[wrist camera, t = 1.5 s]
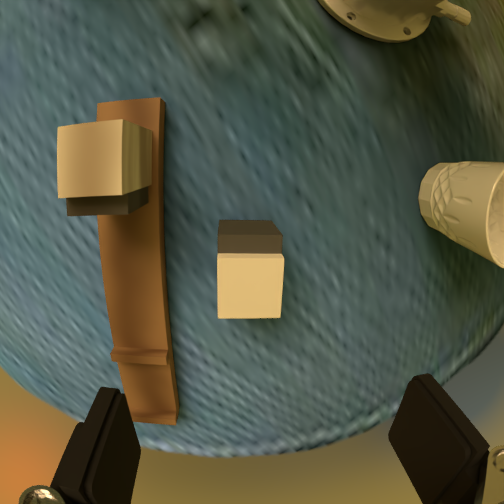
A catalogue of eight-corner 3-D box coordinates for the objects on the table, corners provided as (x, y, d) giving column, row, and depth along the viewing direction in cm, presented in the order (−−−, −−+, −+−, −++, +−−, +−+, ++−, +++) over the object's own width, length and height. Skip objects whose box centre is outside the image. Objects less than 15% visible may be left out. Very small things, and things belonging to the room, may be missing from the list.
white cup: (474, 224, 27) (542, 249, 18) (419, 247, 28) (487, 284, 18) (464, 149, 25) (538, 155, 16) (404, 165, 25) (480, 174, 16)
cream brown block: (269, 218, 26) (285, 238, 19) (267, 279, 27) (280, 317, 20) (219, 217, 25) (217, 238, 19) (219, 279, 27) (217, 318, 20)
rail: (165, 102, 22) (134, 73, 14) (179, 406, 30) (170, 471, 22) (106, 107, 22) (53, 86, 13) (134, 402, 30) (116, 465, 21)
